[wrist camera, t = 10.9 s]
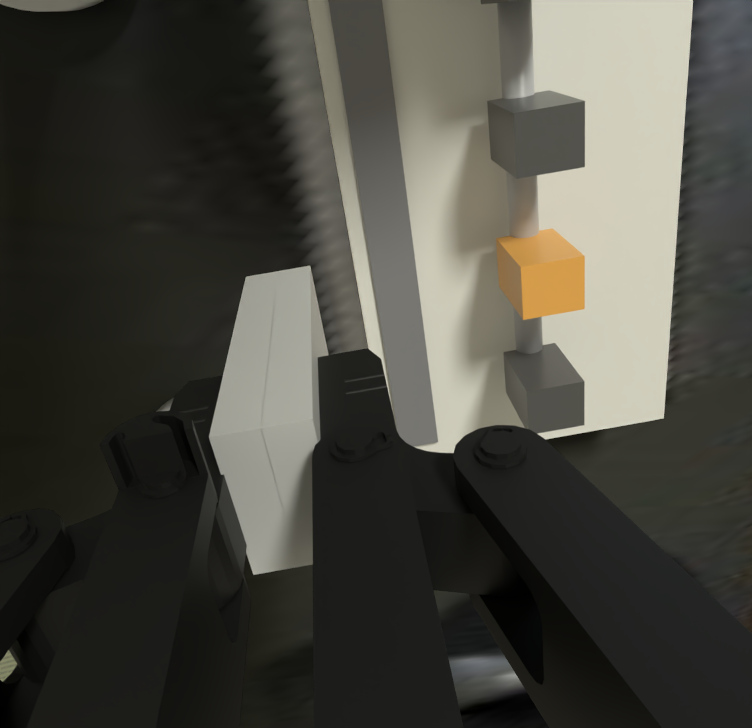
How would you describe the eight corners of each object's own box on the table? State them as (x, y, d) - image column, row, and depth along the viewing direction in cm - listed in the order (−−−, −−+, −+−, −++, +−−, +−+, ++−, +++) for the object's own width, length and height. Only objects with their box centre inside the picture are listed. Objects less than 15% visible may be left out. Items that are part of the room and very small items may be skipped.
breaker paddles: (470, -102, 19) (502, -125, 16) (539, -113, 19) (585, -138, 16) (503, 403, 27) (529, 454, 24) (552, 395, 27) (584, 444, 24)
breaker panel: (281, -147, 21) (276, -181, 18) (644, -207, 22) (714, -254, 18) (380, 417, 32) (389, 470, 28) (624, 374, 32) (665, 420, 28)
